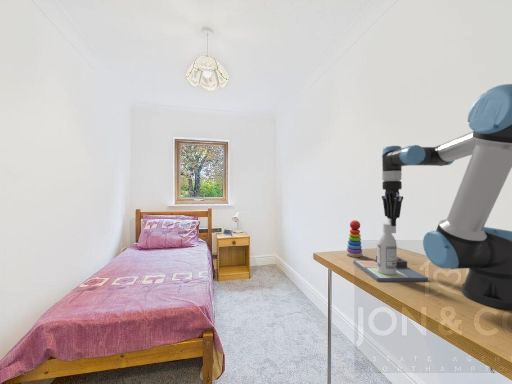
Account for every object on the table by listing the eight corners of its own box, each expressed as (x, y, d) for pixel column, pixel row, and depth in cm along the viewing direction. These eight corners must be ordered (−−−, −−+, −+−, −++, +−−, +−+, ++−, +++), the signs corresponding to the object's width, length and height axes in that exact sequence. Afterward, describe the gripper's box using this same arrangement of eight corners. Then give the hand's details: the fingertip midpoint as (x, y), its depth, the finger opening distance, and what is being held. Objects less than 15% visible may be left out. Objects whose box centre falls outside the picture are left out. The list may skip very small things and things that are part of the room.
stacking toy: (343, 255, 127) (344, 220, 127) (349, 252, 133) (350, 218, 133) (359, 258, 122) (359, 221, 122) (364, 255, 128) (364, 220, 127)
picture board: (428, 280, 93) (428, 271, 93) (376, 281, 93) (377, 271, 92) (394, 262, 115) (394, 255, 115) (353, 263, 115) (353, 255, 114)
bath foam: (399, 272, 98) (399, 224, 98) (392, 276, 94) (392, 225, 93) (381, 268, 103) (381, 222, 103) (374, 271, 99) (374, 223, 99)
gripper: (409, 180, 102) (409, 235, 102) (391, 181, 115) (391, 230, 115) (392, 180, 102) (392, 235, 102) (376, 181, 115) (376, 230, 115)
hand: (392, 232), depth 108 cm, fingers closed
